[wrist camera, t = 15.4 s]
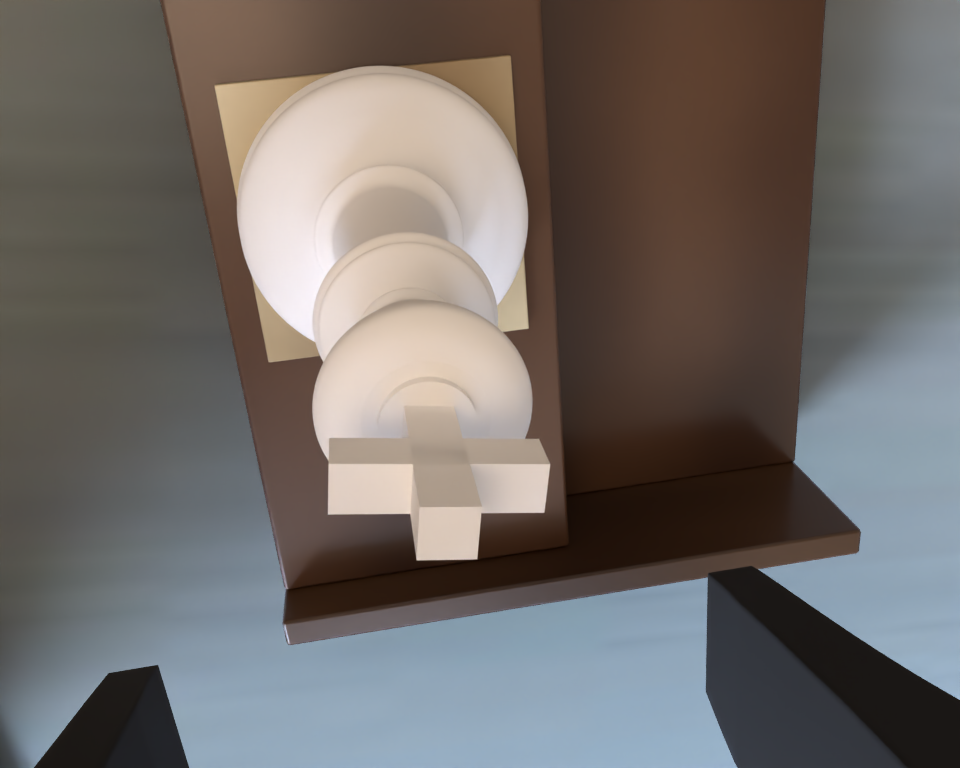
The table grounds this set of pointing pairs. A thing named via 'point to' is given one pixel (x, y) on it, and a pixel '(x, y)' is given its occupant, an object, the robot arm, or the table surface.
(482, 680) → the table surface
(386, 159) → the chess piece
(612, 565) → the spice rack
